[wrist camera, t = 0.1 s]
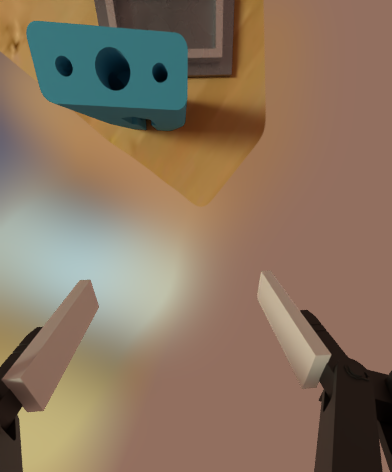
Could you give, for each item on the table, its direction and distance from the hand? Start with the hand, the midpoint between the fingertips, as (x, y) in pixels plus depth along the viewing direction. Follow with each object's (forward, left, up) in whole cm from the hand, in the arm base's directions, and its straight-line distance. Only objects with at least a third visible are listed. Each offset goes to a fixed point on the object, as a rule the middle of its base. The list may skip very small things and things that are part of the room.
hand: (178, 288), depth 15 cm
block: (-16, -4, -28) cm, 33 cm away
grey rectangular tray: (-27, 0, -28) cm, 39 cm away
